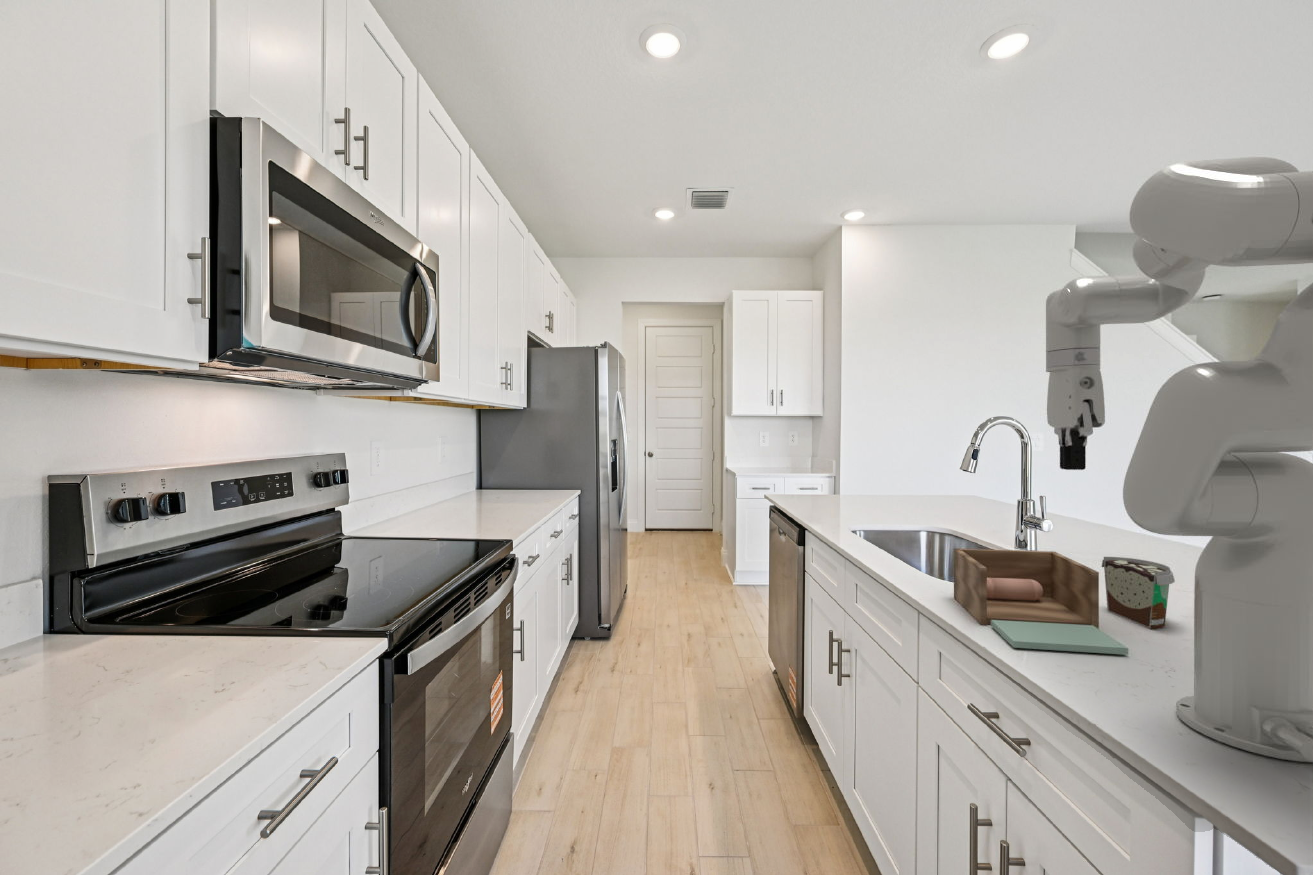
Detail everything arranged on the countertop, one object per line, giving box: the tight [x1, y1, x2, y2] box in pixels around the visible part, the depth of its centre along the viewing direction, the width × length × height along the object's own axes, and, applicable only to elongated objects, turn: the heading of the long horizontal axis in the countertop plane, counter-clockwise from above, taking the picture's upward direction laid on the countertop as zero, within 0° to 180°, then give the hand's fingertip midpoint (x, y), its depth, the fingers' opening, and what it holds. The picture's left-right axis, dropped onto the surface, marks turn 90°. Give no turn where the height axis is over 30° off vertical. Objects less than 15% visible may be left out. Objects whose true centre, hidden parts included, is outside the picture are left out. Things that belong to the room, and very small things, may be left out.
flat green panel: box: [990, 620, 1130, 656], centre depth 92 cm, size 1×15×10 cm
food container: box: [1101, 556, 1176, 630], centre depth 101 cm, size 12×6×10 cm, turn 179°
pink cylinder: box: [987, 578, 1043, 601], centre depth 110 cm, size 4×11×4 cm, turn 77°
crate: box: [953, 547, 1100, 630], centre depth 105 cm, size 16×18×10 cm
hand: (1072, 469), depth 98 cm, fingers closed
